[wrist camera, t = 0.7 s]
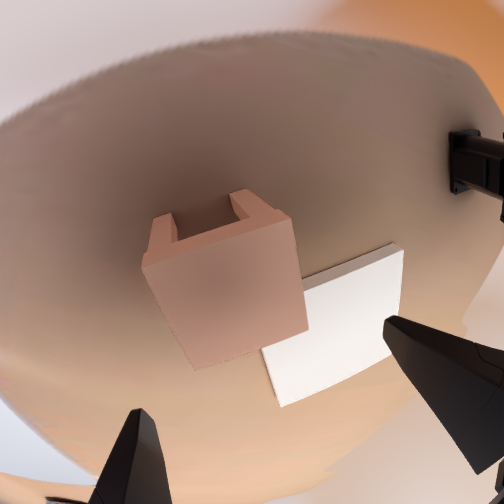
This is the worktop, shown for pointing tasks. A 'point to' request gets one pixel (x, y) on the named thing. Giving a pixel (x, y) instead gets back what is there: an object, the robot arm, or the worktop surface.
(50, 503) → the food plate
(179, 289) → the stool
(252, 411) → the worktop surface
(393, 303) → the white board
